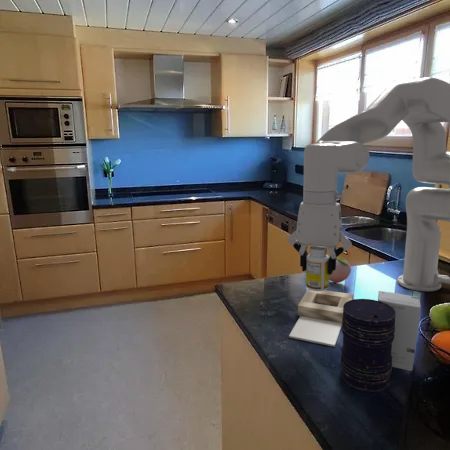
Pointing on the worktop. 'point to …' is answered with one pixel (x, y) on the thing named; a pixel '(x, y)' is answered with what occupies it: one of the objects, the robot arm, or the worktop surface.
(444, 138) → the robot arm
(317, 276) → the supplement bottle
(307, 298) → the socket block
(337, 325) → the pad
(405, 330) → the skincare box
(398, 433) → the worktop surface
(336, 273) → the decorative fruit
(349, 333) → the dark blue cylinder
